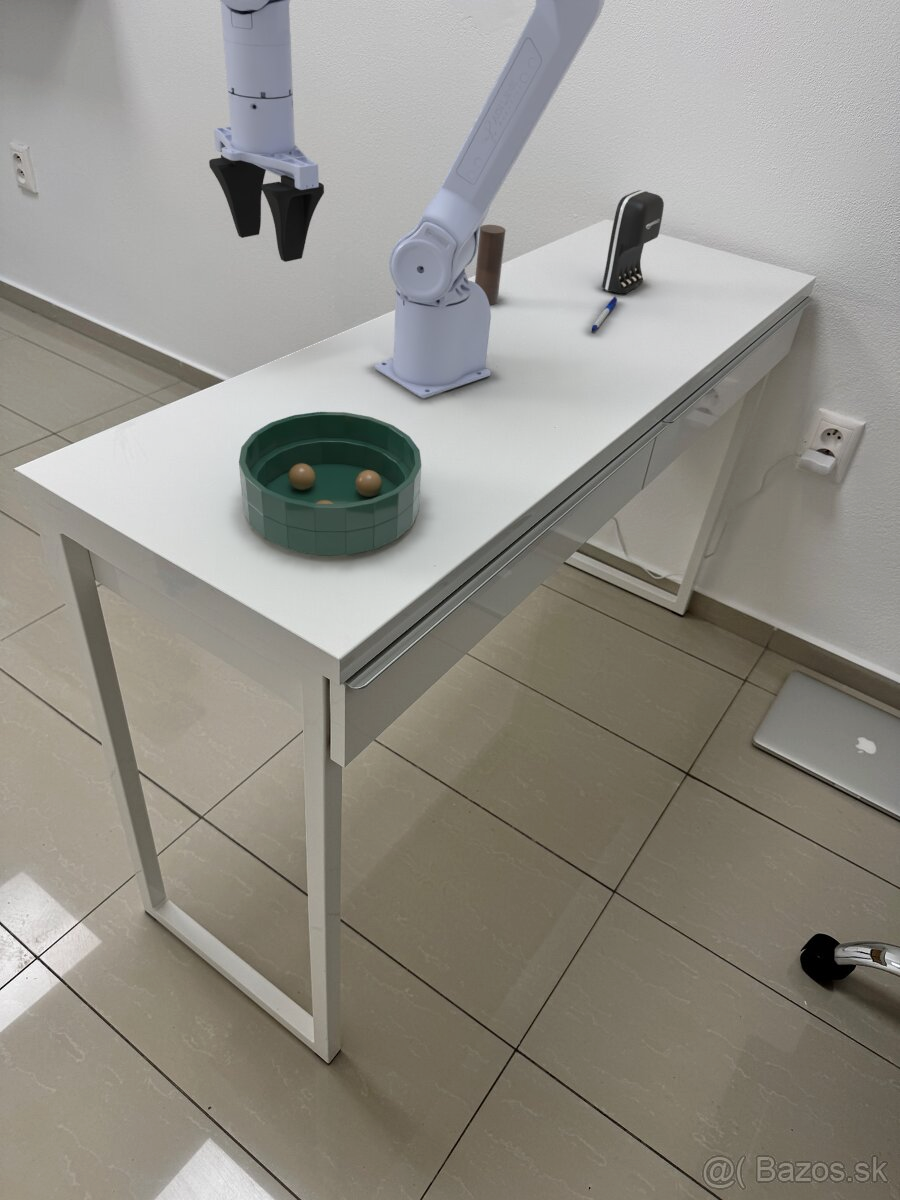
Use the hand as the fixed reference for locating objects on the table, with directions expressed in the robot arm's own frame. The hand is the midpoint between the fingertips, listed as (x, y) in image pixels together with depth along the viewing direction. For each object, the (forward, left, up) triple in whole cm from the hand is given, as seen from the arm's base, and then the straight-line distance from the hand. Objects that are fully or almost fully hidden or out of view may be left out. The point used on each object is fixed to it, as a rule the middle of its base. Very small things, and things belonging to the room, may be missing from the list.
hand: (269, 246), depth 87 cm
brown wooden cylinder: (-28, +3, -10) cm, 30 cm away
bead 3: (+10, +29, -9) cm, 32 cm away
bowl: (+13, +28, -10) cm, 33 cm away
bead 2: (+15, +30, -9) cm, 35 cm away
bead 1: (+14, +25, -9) cm, 30 cm away
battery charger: (-47, +9, -10) cm, 49 cm away
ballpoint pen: (-37, +14, -10) cm, 41 cm away
